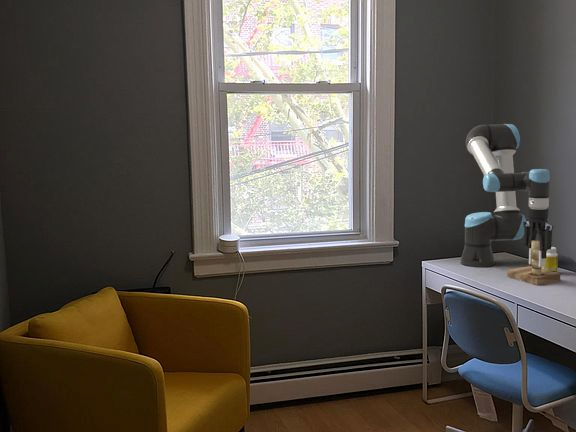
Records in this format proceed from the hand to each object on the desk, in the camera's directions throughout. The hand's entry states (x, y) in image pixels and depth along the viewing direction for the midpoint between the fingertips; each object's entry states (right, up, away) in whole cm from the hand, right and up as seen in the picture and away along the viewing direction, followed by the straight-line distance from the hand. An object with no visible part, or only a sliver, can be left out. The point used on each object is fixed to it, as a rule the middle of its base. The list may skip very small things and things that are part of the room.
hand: (536, 264), depth 251 cm
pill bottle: (+11, -5, +14) cm, 18 cm away
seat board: (+1, -6, +5) cm, 8 cm away
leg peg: (0, -4, +1) cm, 4 cm away
